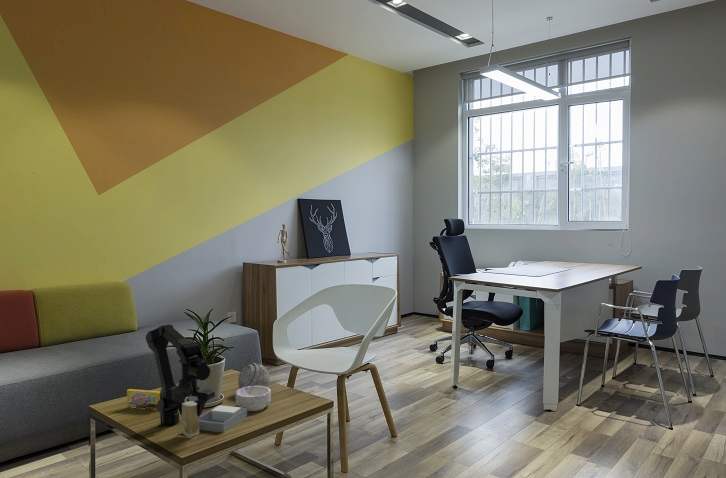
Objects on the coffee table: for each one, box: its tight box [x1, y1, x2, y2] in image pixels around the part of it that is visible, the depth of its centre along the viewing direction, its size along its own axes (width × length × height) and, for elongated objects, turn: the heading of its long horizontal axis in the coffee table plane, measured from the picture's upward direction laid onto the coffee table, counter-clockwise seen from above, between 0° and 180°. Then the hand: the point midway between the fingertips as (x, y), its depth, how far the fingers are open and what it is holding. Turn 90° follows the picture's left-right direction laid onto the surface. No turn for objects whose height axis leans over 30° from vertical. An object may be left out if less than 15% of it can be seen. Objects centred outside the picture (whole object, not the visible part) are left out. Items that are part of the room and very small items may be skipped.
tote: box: [199, 404, 248, 433], centre depth 215 cm, size 14×18×4 cm
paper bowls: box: [235, 386, 272, 412], centre depth 232 cm, size 15×15×8 cm
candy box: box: [126, 388, 161, 411], centre depth 234 cm, size 16×2×8 cm, turn 76°
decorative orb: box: [237, 362, 270, 389], centre depth 251 cm, size 15×14×15 cm
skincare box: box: [181, 400, 200, 439], centre depth 204 cm, size 6×4×12 cm
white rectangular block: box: [212, 405, 241, 421], centre depth 219 cm, size 10×6×4 cm, turn 73°
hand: (190, 415), depth 203 cm, fingers closed on skincare box, 7 cm apart
